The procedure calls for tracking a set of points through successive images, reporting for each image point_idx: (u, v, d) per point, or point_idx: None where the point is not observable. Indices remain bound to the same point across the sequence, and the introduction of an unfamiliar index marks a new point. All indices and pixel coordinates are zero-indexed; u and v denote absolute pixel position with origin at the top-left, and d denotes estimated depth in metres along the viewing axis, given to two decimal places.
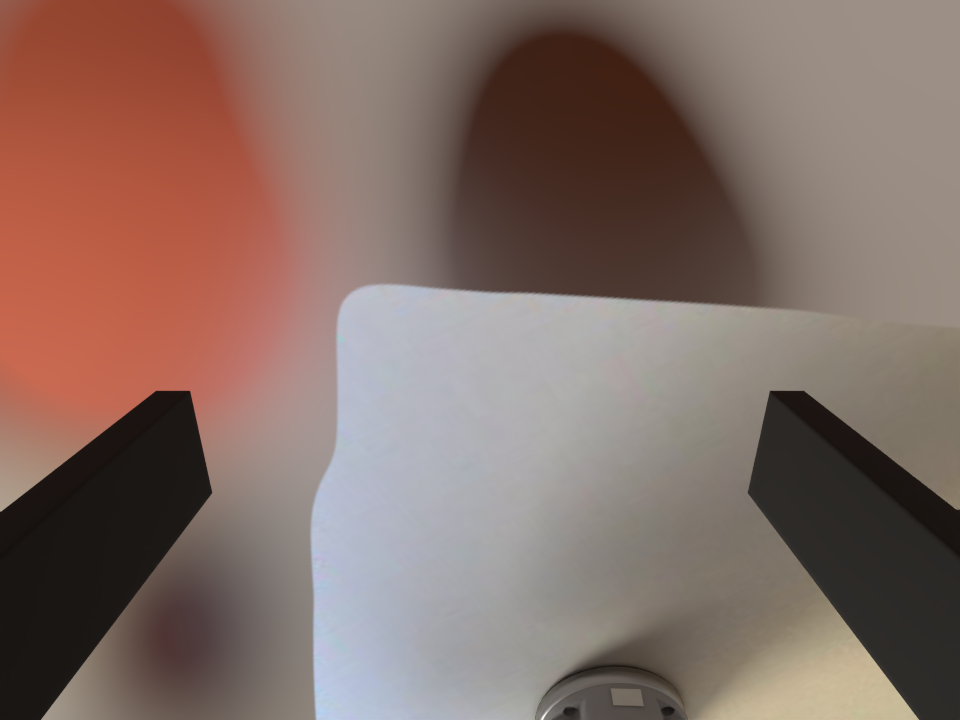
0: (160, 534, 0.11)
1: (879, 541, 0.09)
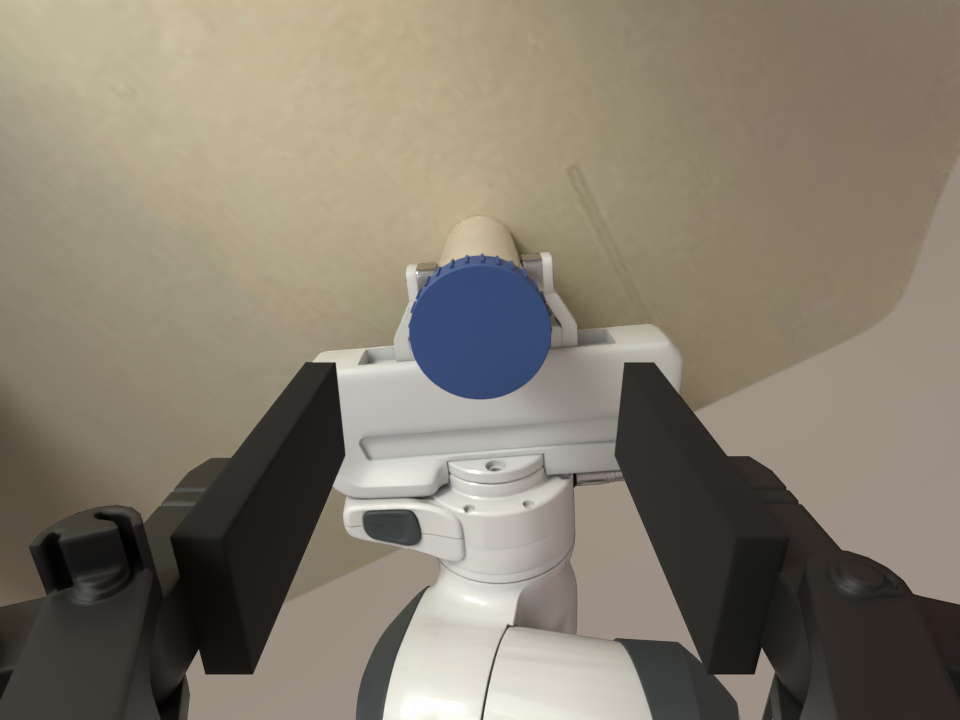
0: (322, 485, 0.13)
1: (670, 480, 0.10)
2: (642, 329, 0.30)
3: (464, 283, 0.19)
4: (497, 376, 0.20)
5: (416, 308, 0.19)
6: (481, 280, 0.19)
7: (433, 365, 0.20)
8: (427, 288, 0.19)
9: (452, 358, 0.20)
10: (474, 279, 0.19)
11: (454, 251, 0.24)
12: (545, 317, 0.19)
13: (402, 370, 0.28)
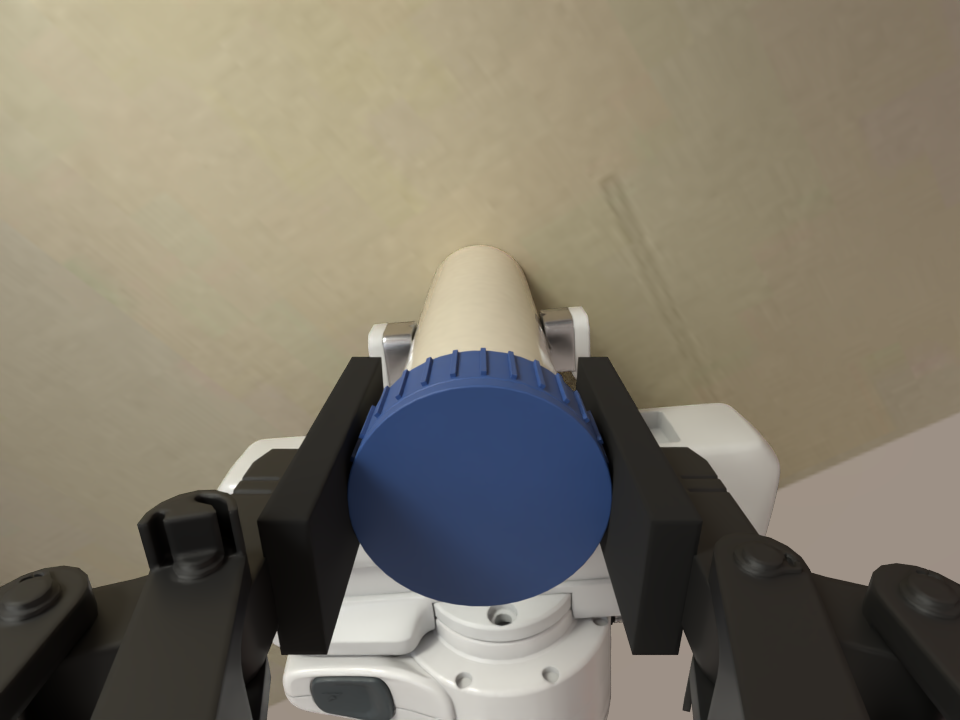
0: None
1: None
2: (714, 413, 0.20)
3: (449, 417, 0.10)
4: (511, 571, 0.11)
5: (358, 460, 0.10)
6: (482, 412, 0.10)
7: (394, 554, 0.11)
8: (378, 426, 0.10)
9: (428, 542, 0.11)
10: (468, 410, 0.10)
11: (438, 317, 0.15)
12: (602, 475, 0.10)
13: None
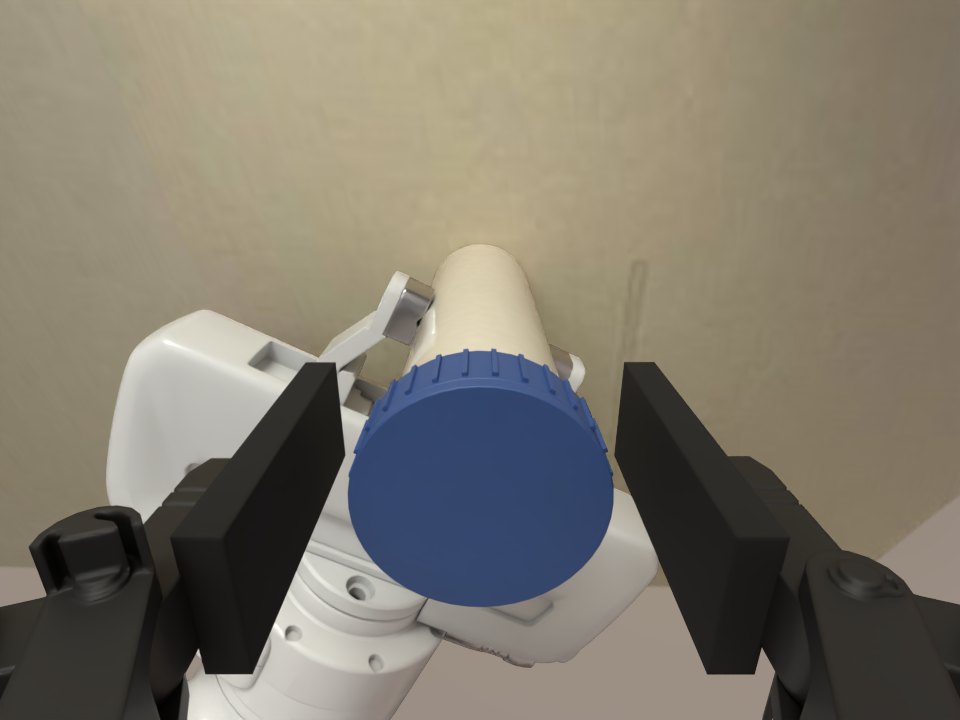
0: (322, 485, 0.13)
1: (670, 481, 0.10)
2: (625, 503, 0.22)
3: (378, 482, 0.10)
4: (567, 519, 0.11)
5: (378, 562, 0.11)
6: (389, 456, 0.10)
7: (483, 589, 0.11)
8: (356, 532, 0.11)
9: (490, 561, 0.11)
10: (380, 465, 0.10)
11: (480, 304, 0.15)
12: (517, 397, 0.10)
13: None
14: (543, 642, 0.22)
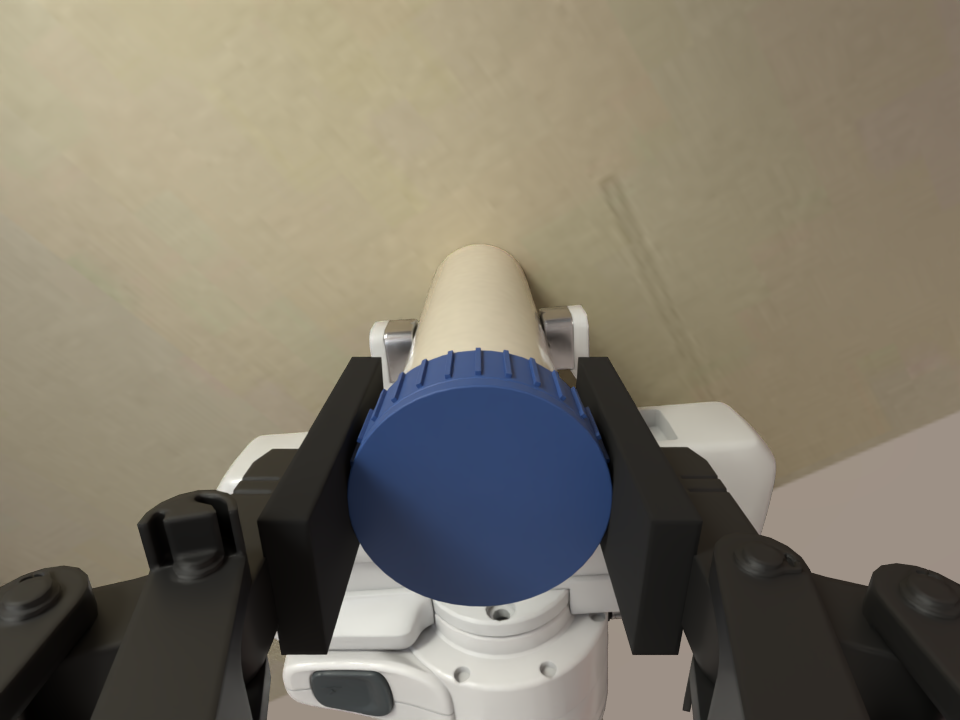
0: None
1: None
2: (711, 412, 0.21)
3: (381, 528, 0.11)
4: (564, 479, 0.10)
5: (429, 595, 0.11)
6: (374, 503, 0.10)
7: (534, 576, 0.11)
8: (393, 578, 0.11)
9: (522, 549, 0.11)
10: (372, 514, 0.11)
11: (439, 315, 0.16)
12: (442, 397, 0.10)
13: None
14: None
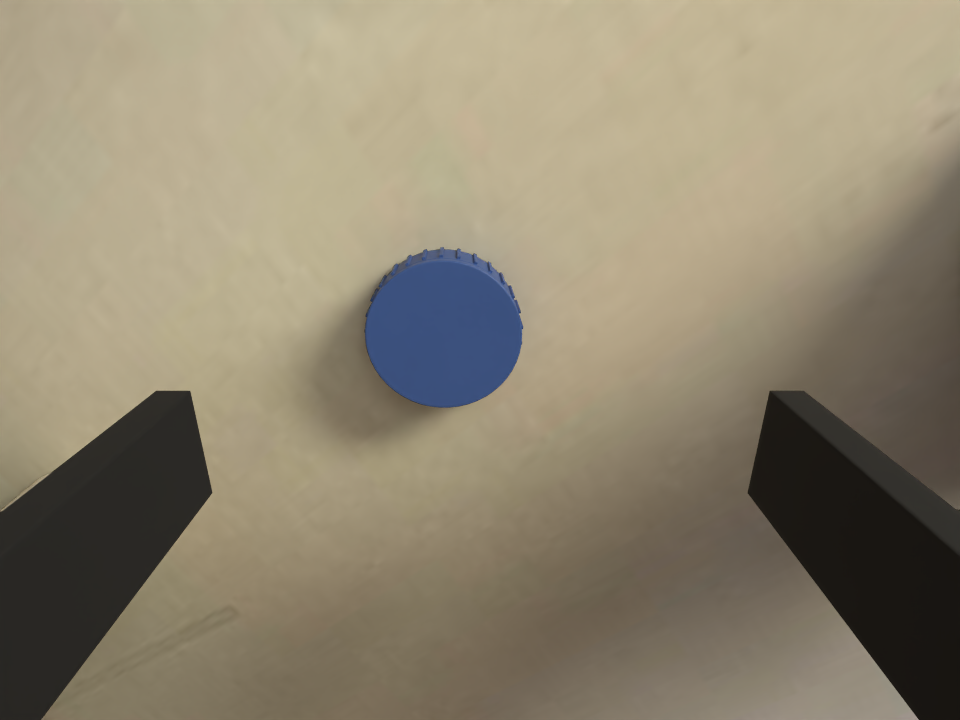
0: (160, 534, 0.11)
1: (879, 541, 0.09)
2: None
3: (385, 354, 0.18)
4: (493, 319, 0.18)
5: (414, 400, 0.19)
6: (381, 337, 0.18)
7: (478, 385, 0.19)
8: (393, 388, 0.19)
9: (470, 366, 0.18)
10: (380, 344, 0.18)
11: None
12: (420, 268, 0.17)
13: None
14: None
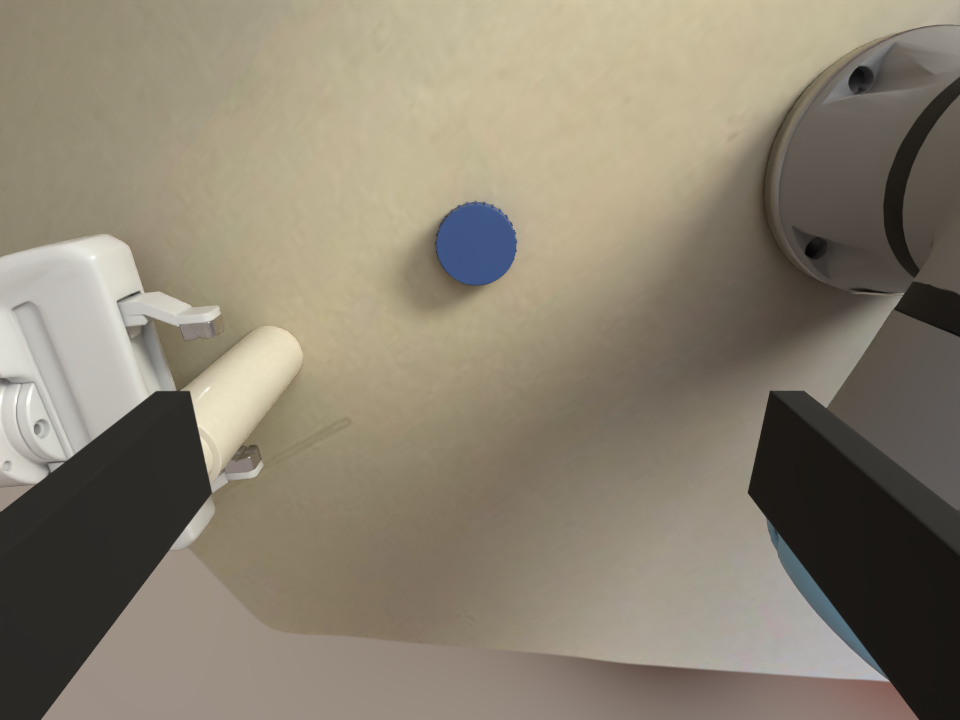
0: (160, 534, 0.11)
1: (879, 541, 0.09)
2: (207, 509, 0.37)
3: (446, 254, 0.35)
4: (501, 236, 0.35)
5: (460, 280, 0.36)
6: (444, 245, 0.35)
7: (493, 273, 0.36)
8: (449, 274, 0.36)
9: (489, 262, 0.35)
10: (443, 249, 0.35)
11: (243, 398, 0.30)
12: (465, 209, 0.34)
13: (119, 345, 0.30)
14: None
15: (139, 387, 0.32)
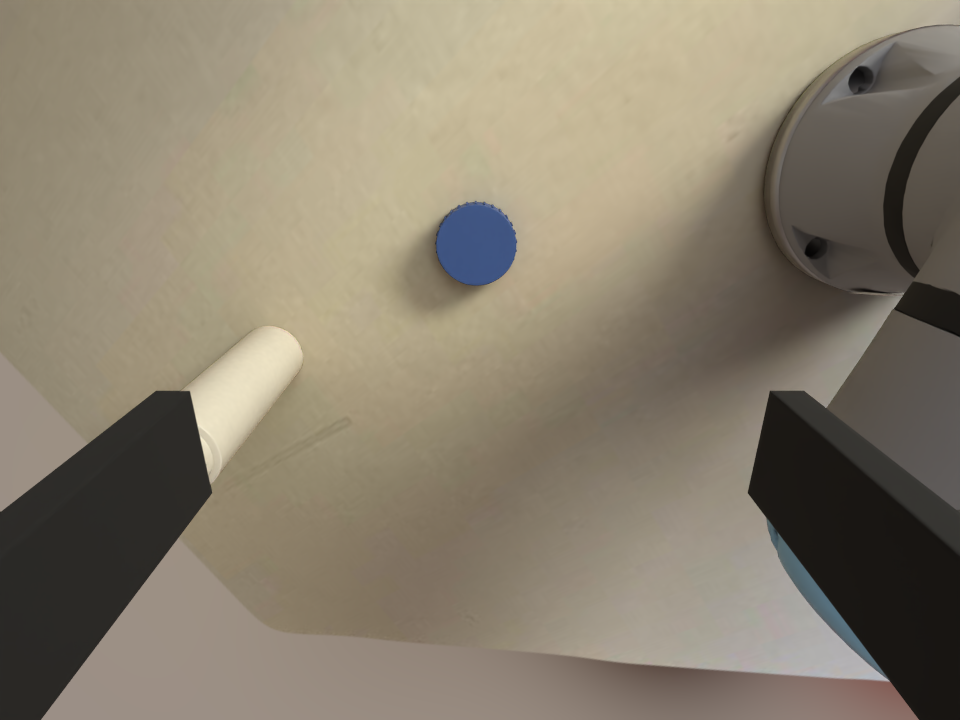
0: (160, 534, 0.11)
1: (879, 541, 0.09)
2: None
3: (446, 254, 0.35)
4: (501, 236, 0.35)
5: (460, 280, 0.36)
6: (444, 245, 0.35)
7: (493, 273, 0.36)
8: (449, 274, 0.36)
9: (489, 262, 0.35)
10: (443, 249, 0.35)
11: (243, 398, 0.30)
12: (465, 209, 0.34)
13: None
14: None
15: None
